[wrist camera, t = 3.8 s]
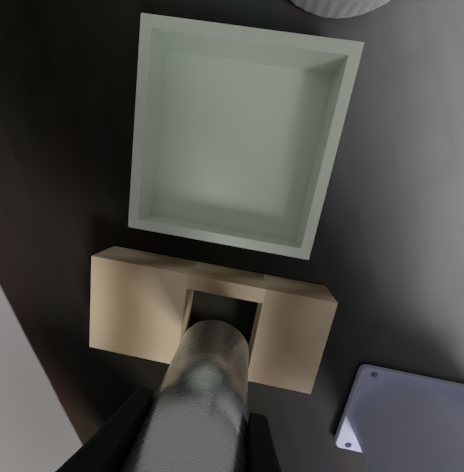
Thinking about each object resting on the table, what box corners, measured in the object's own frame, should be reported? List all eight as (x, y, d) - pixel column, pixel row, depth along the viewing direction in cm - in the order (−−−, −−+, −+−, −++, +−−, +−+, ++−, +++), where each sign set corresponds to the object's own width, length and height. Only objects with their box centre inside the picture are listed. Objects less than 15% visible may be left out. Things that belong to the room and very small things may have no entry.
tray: (343, 69, 13) (364, 42, 11) (299, 248, 16) (308, 260, 13) (161, 44, 14) (140, 12, 11) (147, 220, 16) (128, 226, 14)
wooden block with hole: (325, 285, 16) (338, 303, 14) (302, 365, 18) (310, 393, 15) (114, 245, 17) (91, 255, 15) (110, 325, 19) (89, 346, 16)
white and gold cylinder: (254, 327, 13) (257, 600, 4) (242, 385, 13) (225, 704, 5) (184, 313, 13) (59, 549, 4) (177, 371, 14) (61, 655, 5)
